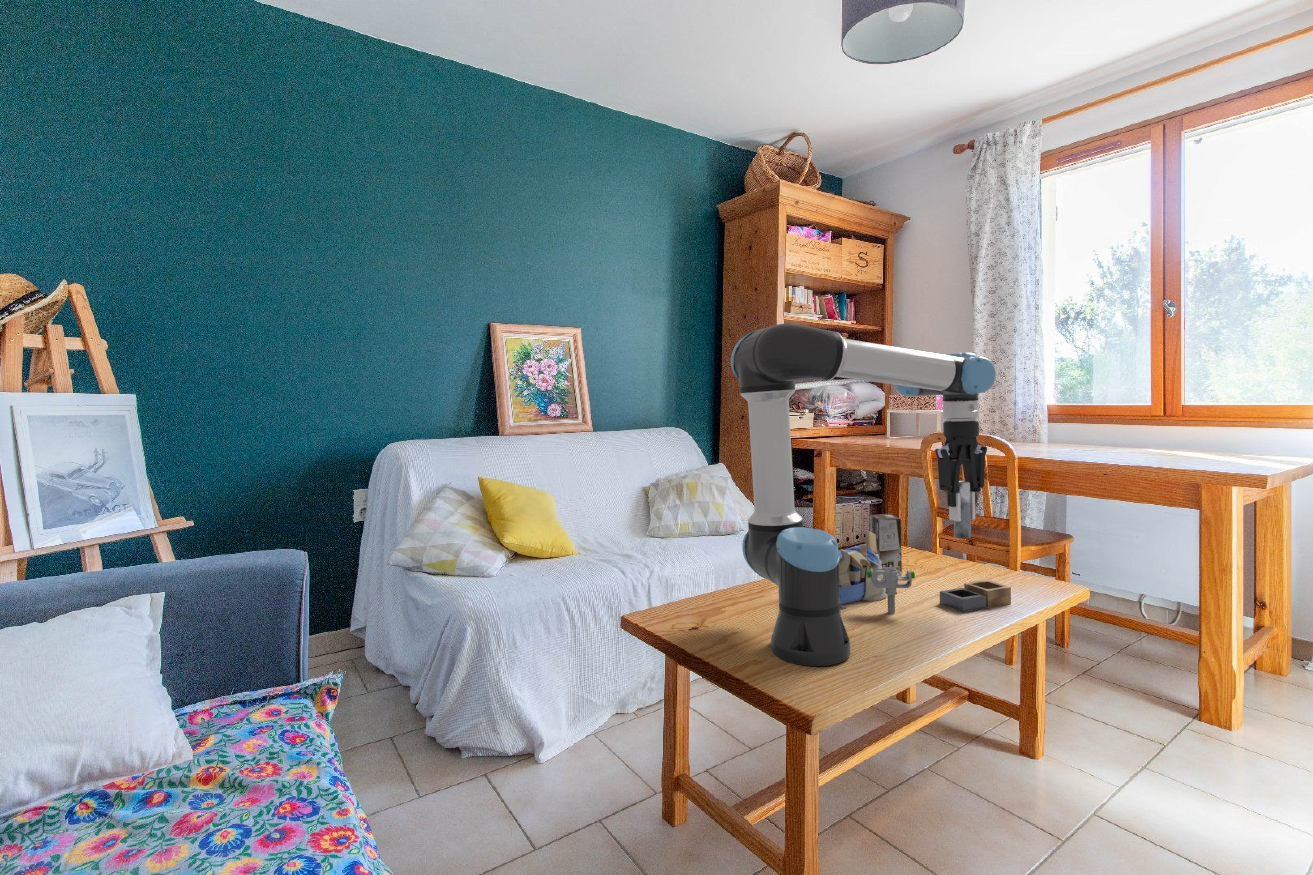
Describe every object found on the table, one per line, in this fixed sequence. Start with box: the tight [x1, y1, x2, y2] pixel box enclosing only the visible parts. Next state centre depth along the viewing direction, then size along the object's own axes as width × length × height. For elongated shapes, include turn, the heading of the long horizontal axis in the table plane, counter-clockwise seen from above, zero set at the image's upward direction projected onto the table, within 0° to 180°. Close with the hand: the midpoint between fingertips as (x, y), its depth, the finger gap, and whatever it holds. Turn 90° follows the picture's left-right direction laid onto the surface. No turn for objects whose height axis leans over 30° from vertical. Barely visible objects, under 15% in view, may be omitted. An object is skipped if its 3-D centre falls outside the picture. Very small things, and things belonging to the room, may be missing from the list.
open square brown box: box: [963, 579, 1012, 609], centre depth 151 cm, size 7×7×4 cm
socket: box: [939, 587, 987, 613], centre depth 149 cm, size 7×7×3 cm
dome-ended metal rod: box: [953, 480, 972, 539], centre depth 148 cm, size 4×4×13 cm
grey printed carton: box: [869, 513, 903, 576], centre depth 180 cm, size 9×6×16 cm
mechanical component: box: [867, 569, 916, 615], centre depth 146 cm, size 3×10×10 cm, turn 78°
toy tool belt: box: [838, 530, 888, 610], centre depth 157 cm, size 26×16×16 cm, turn 122°
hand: (962, 519), depth 148 cm, fingers closed on dome-ended metal rod, 4 cm apart
